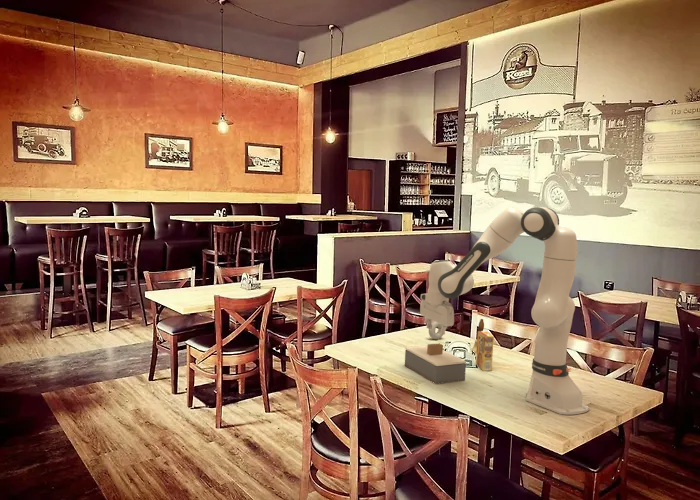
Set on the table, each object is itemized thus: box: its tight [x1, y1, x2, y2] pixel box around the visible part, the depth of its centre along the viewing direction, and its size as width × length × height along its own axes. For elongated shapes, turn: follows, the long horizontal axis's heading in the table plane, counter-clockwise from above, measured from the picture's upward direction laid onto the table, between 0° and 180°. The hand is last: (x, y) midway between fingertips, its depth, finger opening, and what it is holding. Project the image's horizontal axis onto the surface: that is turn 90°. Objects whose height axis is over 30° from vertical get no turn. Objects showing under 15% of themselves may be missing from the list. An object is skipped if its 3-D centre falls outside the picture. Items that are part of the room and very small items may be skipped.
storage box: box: [404, 349, 467, 385], centre depth 225 cm, size 24×14×7 cm, turn 24°
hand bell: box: [471, 318, 485, 354], centre depth 259 cm, size 8×8×16 cm
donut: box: [428, 321, 444, 340], centre depth 278 cm, size 10×4×10 cm, turn 123°
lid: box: [405, 342, 467, 366], centre depth 224 cm, size 24×14×5 cm, turn 24°
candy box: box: [475, 330, 494, 372], centre depth 234 cm, size 9×4×15 cm, turn 8°
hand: (435, 331), depth 224 cm, fingers open, 8 cm apart
